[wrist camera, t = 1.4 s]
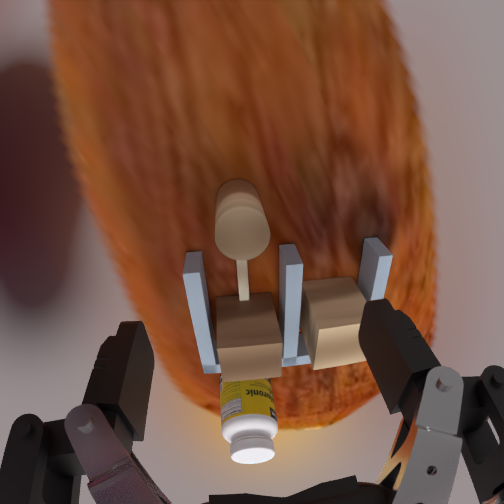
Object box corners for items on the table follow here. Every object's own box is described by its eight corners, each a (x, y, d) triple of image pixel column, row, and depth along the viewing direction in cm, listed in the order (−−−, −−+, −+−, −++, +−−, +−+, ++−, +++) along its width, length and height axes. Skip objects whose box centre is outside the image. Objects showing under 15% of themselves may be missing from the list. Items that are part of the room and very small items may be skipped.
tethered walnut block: (203, 181, 21) (197, 214, 16) (268, 176, 22) (284, 207, 16) (221, 330, 28) (223, 381, 23) (271, 326, 28) (281, 376, 23)
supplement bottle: (279, 376, 33) (294, 454, 24) (242, 396, 34) (249, 470, 25) (246, 354, 30) (256, 440, 22) (209, 377, 32) (210, 458, 23)
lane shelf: (186, 252, 24) (182, 273, 21) (376, 237, 25) (392, 255, 22) (204, 350, 29) (204, 373, 27) (358, 332, 30) (367, 353, 28)
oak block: (301, 281, 26) (319, 329, 21) (351, 275, 27) (377, 320, 21) (298, 321, 29) (313, 369, 23) (344, 315, 29) (365, 360, 24)
